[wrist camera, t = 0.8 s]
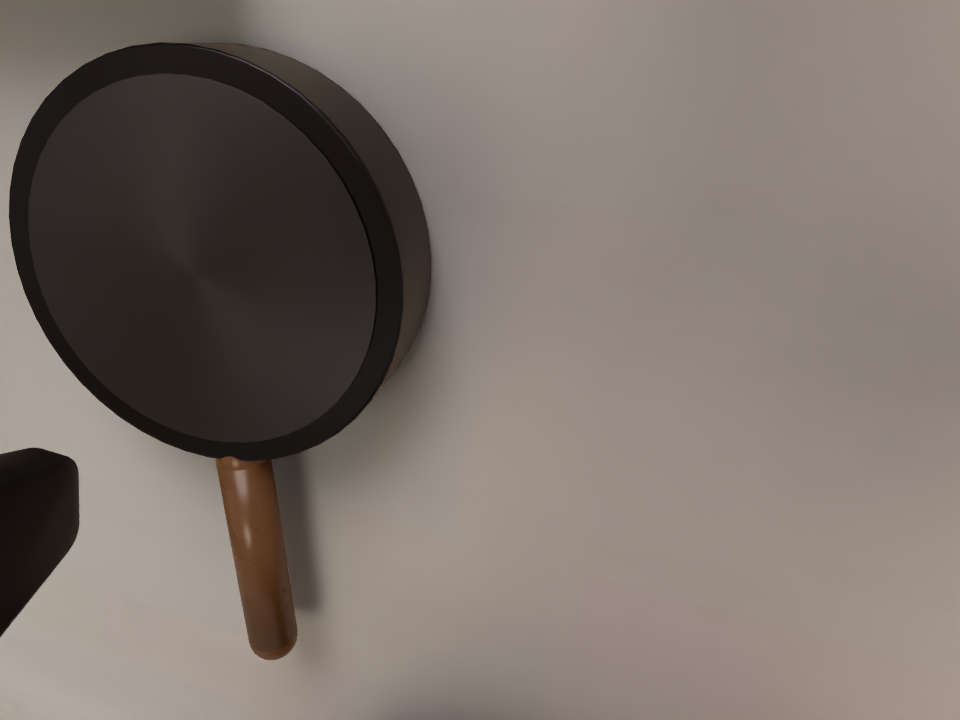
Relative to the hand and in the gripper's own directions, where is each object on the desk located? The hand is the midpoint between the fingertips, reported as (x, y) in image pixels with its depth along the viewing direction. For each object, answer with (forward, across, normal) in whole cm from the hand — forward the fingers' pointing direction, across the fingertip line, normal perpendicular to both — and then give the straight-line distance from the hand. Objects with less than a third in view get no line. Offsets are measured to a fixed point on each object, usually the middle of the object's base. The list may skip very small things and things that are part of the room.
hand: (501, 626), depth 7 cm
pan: (+12, +8, +5) cm, 15 cm away
